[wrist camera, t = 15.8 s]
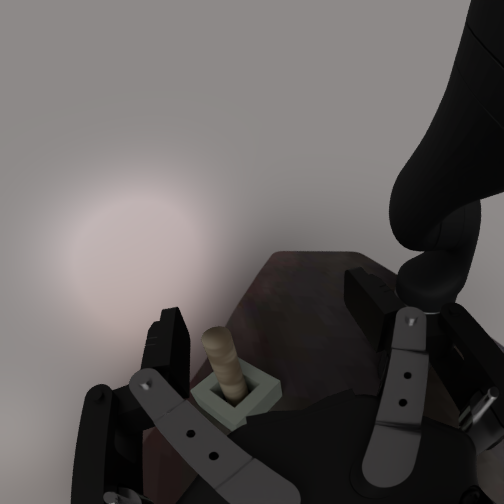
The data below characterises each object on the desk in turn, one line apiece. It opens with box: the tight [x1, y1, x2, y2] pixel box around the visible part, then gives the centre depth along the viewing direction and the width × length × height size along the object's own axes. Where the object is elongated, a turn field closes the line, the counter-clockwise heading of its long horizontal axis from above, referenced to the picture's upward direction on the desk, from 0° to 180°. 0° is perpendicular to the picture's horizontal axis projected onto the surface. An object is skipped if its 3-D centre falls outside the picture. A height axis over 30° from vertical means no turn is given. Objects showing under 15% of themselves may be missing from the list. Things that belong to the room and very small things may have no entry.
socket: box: [191, 358, 282, 431], centre depth 39 cm, size 10×10×4 cm
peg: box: [201, 326, 249, 408], centre depth 36 cm, size 4×4×16 cm
